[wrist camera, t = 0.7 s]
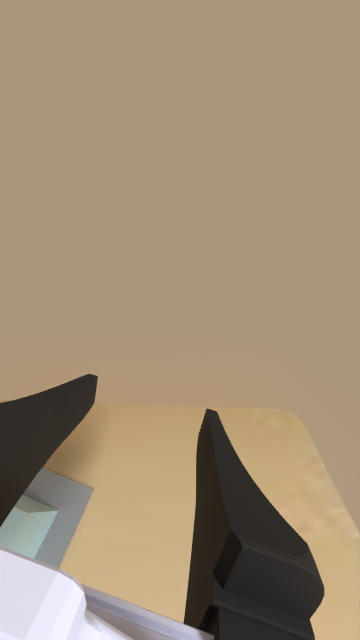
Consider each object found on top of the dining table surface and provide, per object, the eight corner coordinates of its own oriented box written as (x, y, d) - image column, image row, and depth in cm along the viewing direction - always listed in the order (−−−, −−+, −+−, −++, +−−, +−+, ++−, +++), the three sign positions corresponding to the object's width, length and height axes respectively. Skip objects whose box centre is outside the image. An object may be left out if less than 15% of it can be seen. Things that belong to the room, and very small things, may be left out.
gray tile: (19, 654, 15) (18, 655, 15) (-78, 595, 17) (-80, 595, 16) (94, 488, 22) (93, 488, 21) (19, 457, 23) (18, 457, 23)
